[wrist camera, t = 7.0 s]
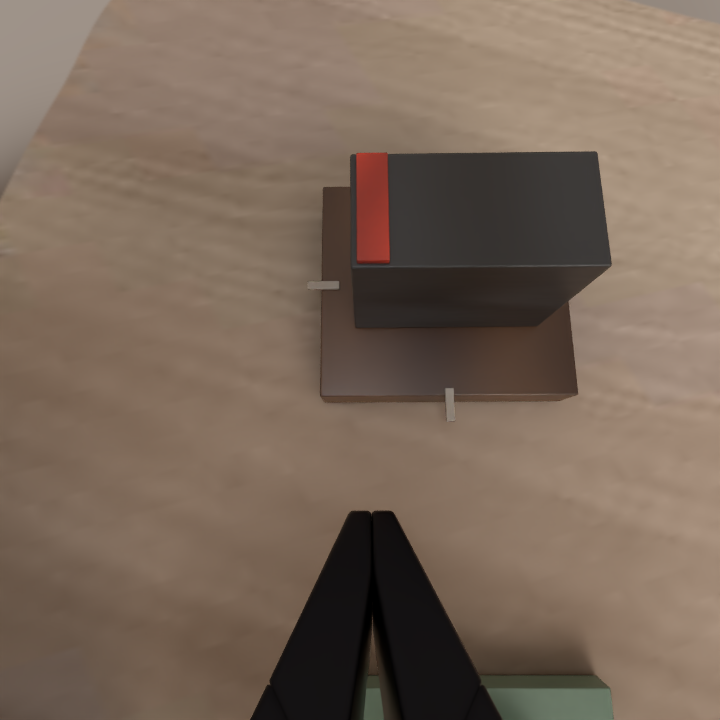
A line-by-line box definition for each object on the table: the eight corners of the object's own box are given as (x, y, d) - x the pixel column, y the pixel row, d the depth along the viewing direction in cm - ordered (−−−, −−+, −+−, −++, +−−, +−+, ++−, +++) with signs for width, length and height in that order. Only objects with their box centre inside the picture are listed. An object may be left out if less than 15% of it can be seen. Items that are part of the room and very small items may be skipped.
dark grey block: (530, 242, 22) (601, 145, 15) (537, 326, 21) (617, 262, 14) (354, 244, 22) (349, 148, 15) (354, 328, 21) (350, 265, 14)
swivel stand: (551, 186, 25) (568, 160, 22) (575, 424, 22) (597, 420, 20) (314, 189, 25) (310, 163, 23) (310, 426, 22) (305, 422, 20)
